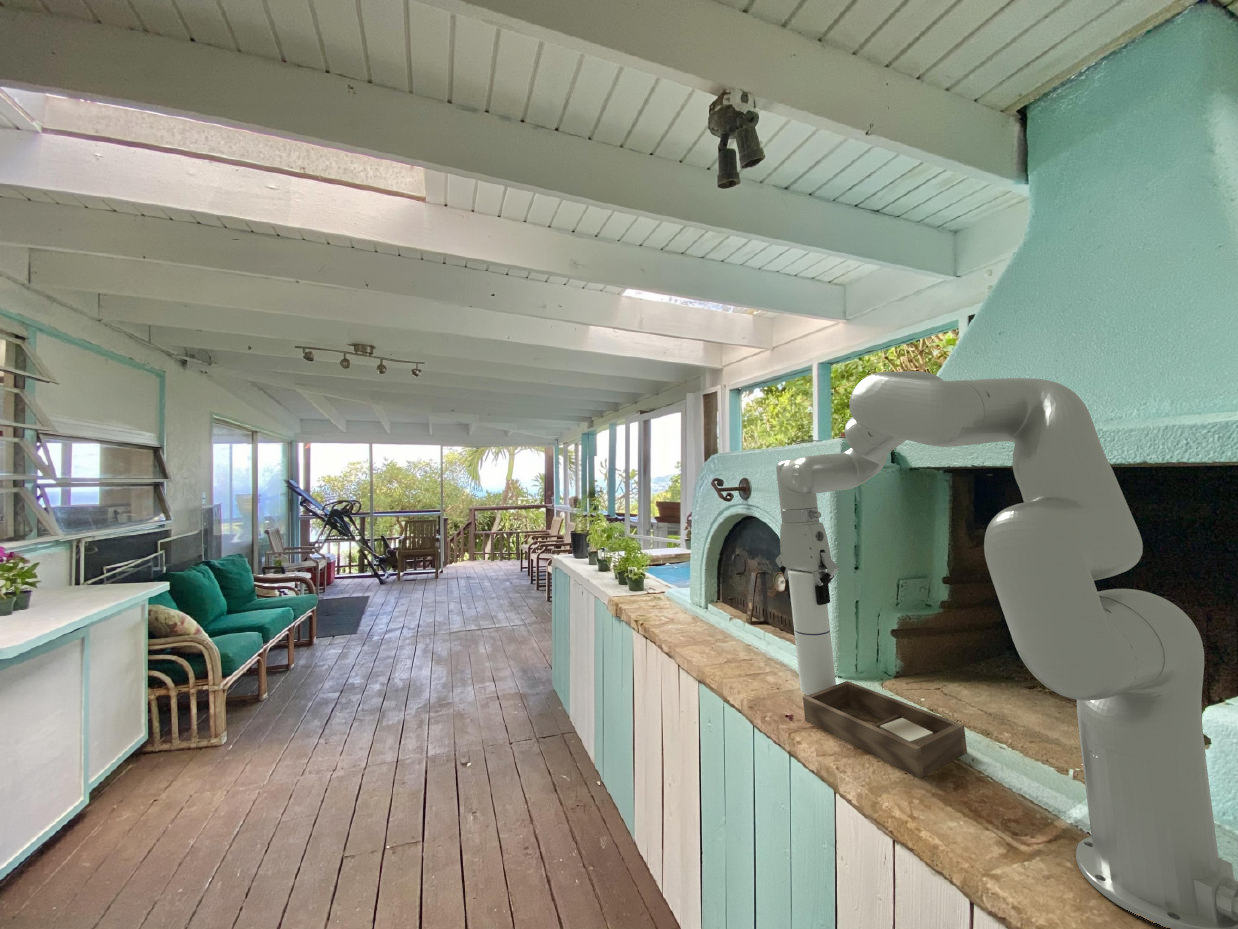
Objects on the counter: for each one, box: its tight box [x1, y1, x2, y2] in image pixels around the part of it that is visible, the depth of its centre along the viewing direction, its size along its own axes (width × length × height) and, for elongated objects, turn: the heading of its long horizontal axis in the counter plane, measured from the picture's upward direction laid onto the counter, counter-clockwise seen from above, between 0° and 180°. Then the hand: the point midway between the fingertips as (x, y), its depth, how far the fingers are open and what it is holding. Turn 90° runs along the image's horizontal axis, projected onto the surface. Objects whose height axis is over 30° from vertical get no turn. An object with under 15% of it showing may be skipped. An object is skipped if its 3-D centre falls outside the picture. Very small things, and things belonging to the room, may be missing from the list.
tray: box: [802, 680, 968, 779], centre depth 86 cm, size 22×12×5 cm, turn 26°
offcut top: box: [880, 718, 933, 744], centre depth 81 cm, size 6×5×2 cm
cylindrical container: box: [788, 570, 837, 696], centre depth 105 cm, size 7×7×25 cm
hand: (808, 600), depth 105 cm, fingers closed on cylindrical container, 7 cm apart
